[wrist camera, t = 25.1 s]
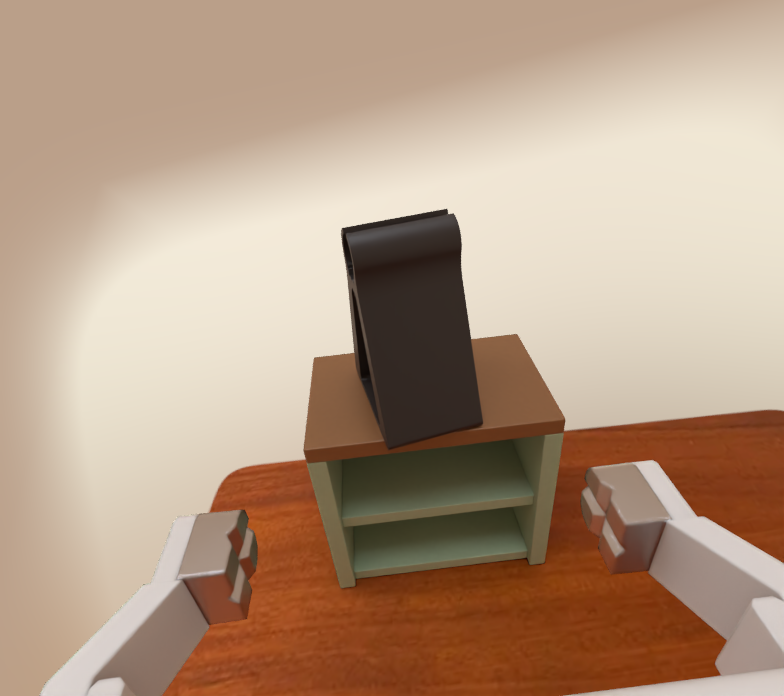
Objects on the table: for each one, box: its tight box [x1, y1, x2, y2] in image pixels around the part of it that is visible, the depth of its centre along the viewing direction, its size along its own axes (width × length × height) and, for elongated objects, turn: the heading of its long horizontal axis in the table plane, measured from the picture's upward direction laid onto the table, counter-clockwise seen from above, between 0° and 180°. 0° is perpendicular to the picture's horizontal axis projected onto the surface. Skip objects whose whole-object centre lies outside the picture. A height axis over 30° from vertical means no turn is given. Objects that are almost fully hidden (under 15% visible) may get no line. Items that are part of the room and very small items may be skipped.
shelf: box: [304, 334, 565, 588], centre depth 37 cm, size 16×10×15 cm, turn 94°
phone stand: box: [341, 209, 483, 450], centre depth 29 cm, size 9×6×12 cm, turn 16°
